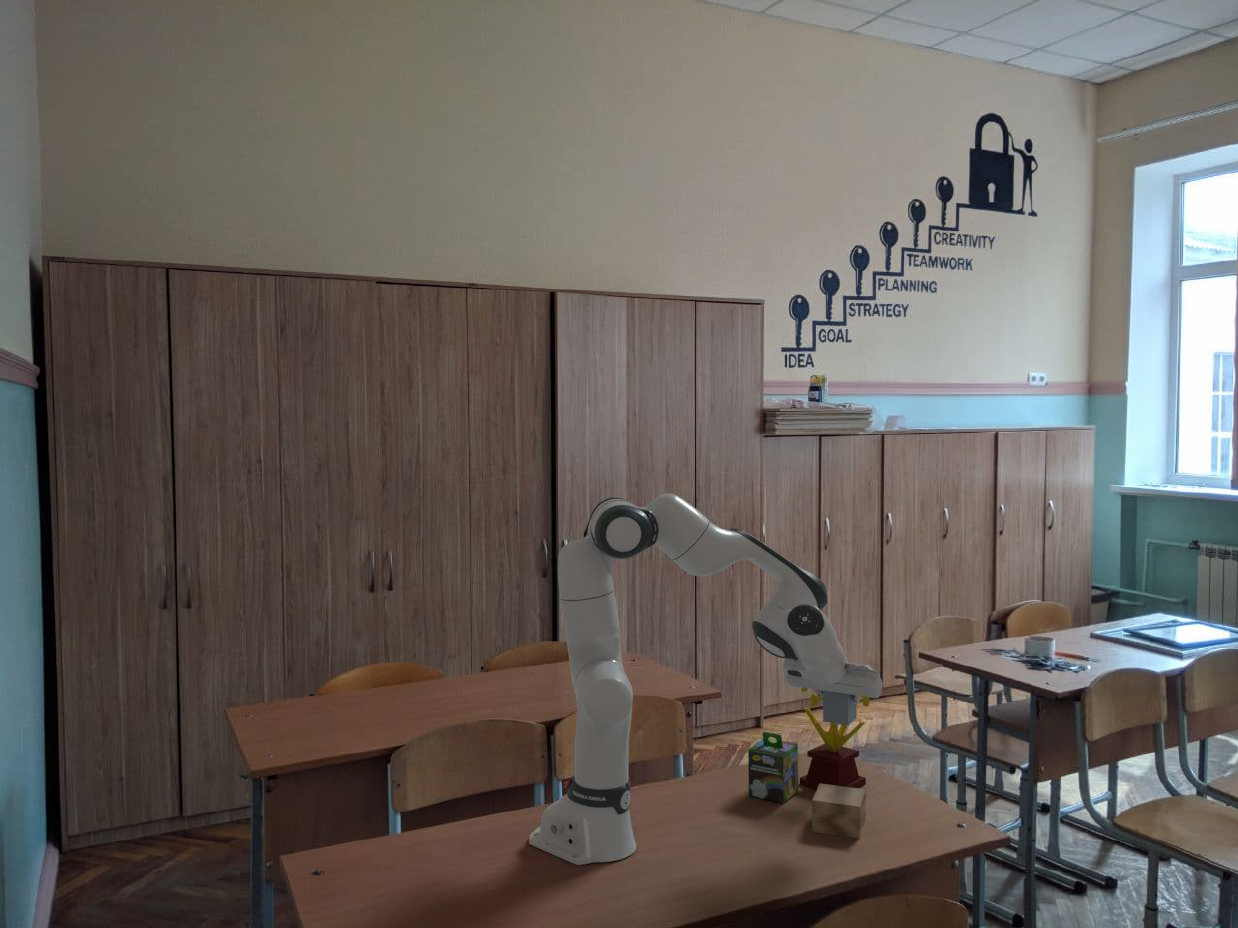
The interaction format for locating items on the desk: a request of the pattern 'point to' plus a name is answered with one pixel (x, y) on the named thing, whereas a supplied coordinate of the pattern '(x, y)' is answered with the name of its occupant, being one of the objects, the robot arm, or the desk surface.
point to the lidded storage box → (838, 708)
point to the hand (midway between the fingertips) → (840, 696)
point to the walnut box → (839, 810)
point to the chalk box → (773, 769)
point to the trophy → (832, 755)
